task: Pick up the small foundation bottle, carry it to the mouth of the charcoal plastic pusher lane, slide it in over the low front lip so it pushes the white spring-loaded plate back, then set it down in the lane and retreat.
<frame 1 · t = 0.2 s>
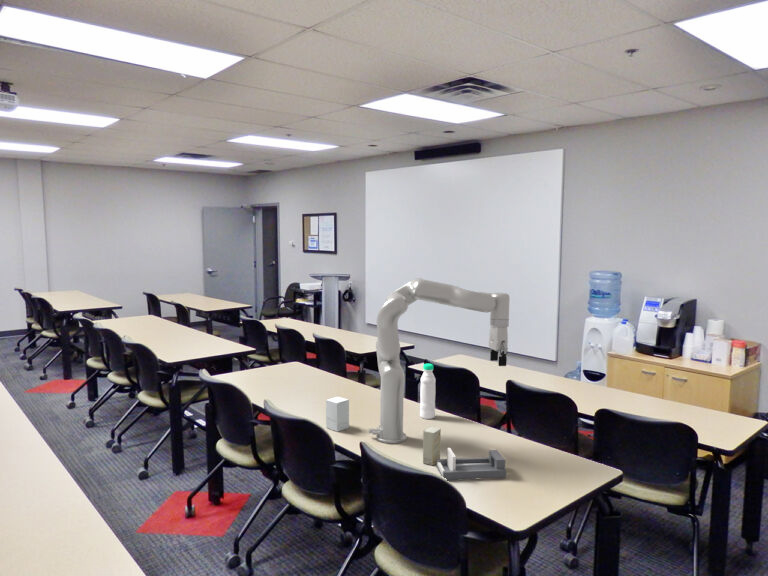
hand: (498, 363, 215), 31 cm above the table, tool pointing down, fingers open, 9 cm apart
water bottle: (427, 417, 240), on the table
skincare box: (431, 462, 190), on the table
pusher: (470, 460, 182), point 4 cm above the table, slide at 0.0 cm
supplement box: (337, 428, 224), on the table
lane: (470, 472, 182), on the table
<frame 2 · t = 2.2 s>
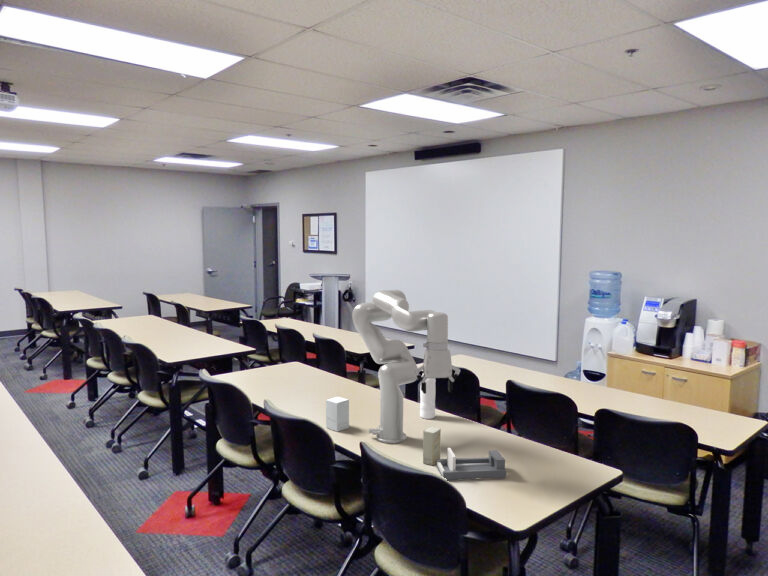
hand: (437, 392, 190), 26 cm above the table, tool pointing down, fingers open, 9 cm apart
nothing on the table moved.
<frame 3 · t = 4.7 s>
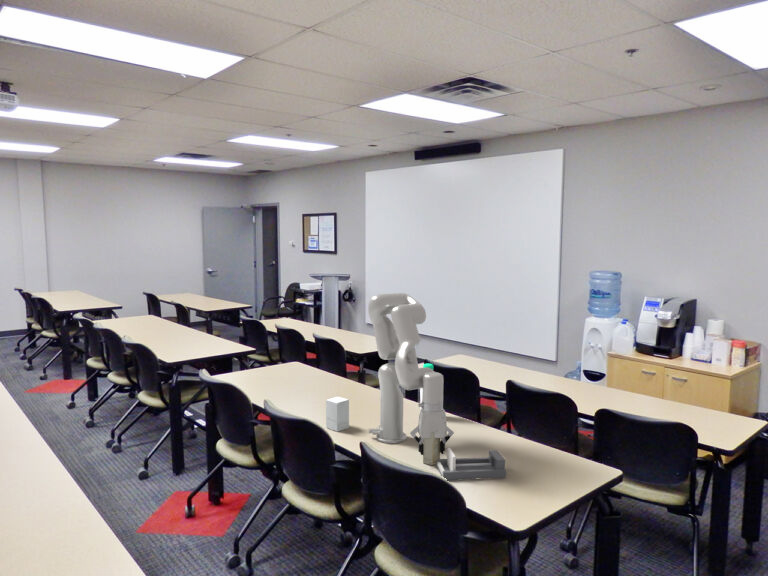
hand: (431, 452, 190), 3 cm above the table, tool pointing down, fingers closed on skincare box, 7 cm apart
skincare box: (431, 462, 190), on the table, touching gripper
everything else where it was.
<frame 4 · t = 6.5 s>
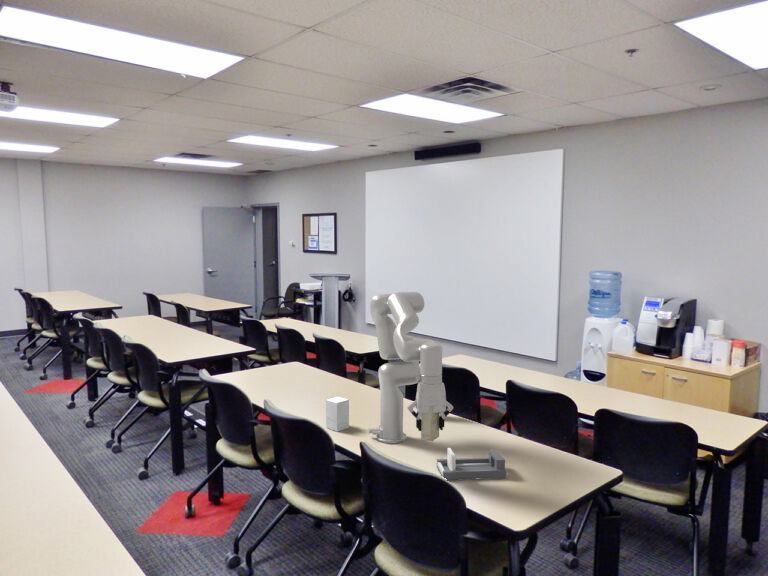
hand: (430, 429, 179), 16 cm above the table, tool pointing down, fingers closed on skincare box, 7 cm apart
skincare box: (430, 438, 179), point 13 cm above the table, touching gripper
everything else where it was.
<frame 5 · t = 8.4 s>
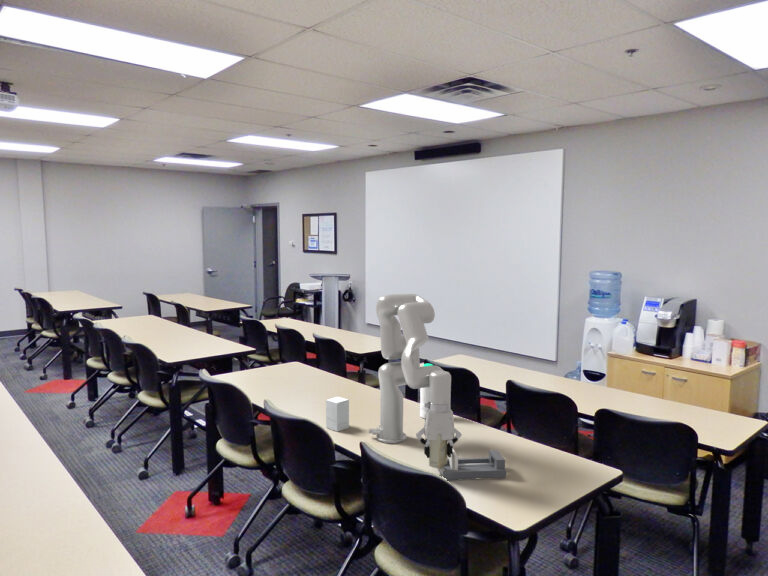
hand: (438, 455, 180), 6 cm above the table, tool pointing down, fingers closed on skincare box, 7 cm apart
skincare box: (438, 465, 180), point 3 cm above the table, touching gripper
pusher: (473, 460, 182), point 4 cm above the table, slide at 0.8 cm, touching gripper
everything else where it was.
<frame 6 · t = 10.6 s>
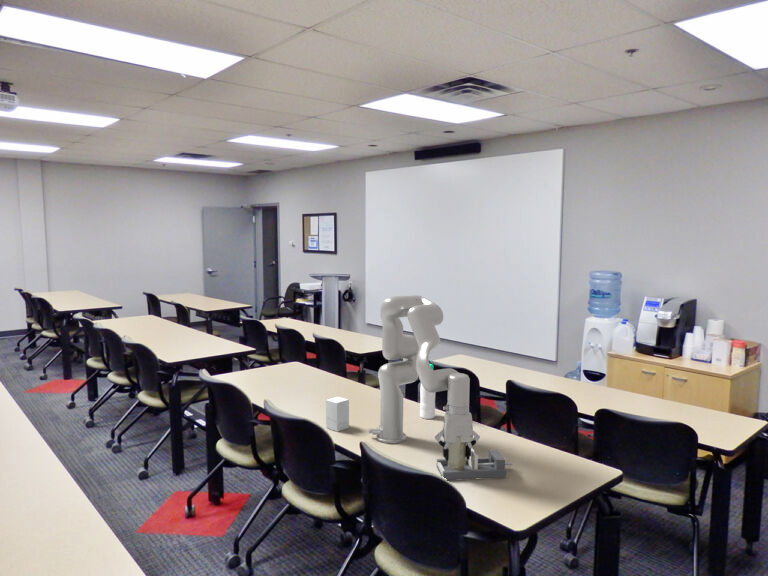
hand: (456, 458, 181), 5 cm above the table, tool pointing down, fingers closed on skincare box, 7 cm apart
skincare box: (456, 467, 181), point 2 cm above the table, touching gripper
pusher: (492, 459, 182), point 4 cm above the table, slide at 7.8 cm, touching gripper
everything else where it was.
when the fingers open (5 cm above the table, at t = 11.0 s): skincare box stays where it is, resting on lane, pusher.
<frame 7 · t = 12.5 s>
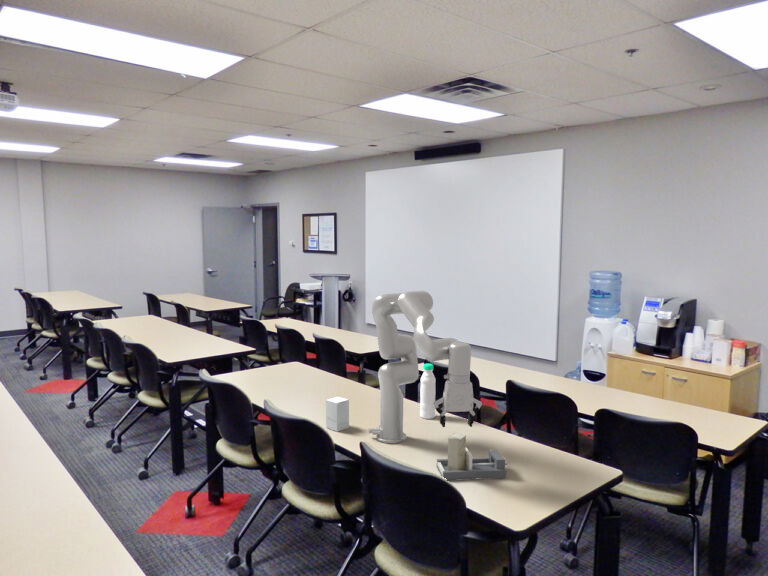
hand: (456, 425, 180), 17 cm above the table, tool pointing down, fingers open, 9 cm apart
skincare box: (456, 470, 181), point 1 cm above the table, touching lane, pusher
pusher: (486, 459, 182), point 4 cm above the table, slide at 5.9 cm, touching skincare box
everything else where it was.
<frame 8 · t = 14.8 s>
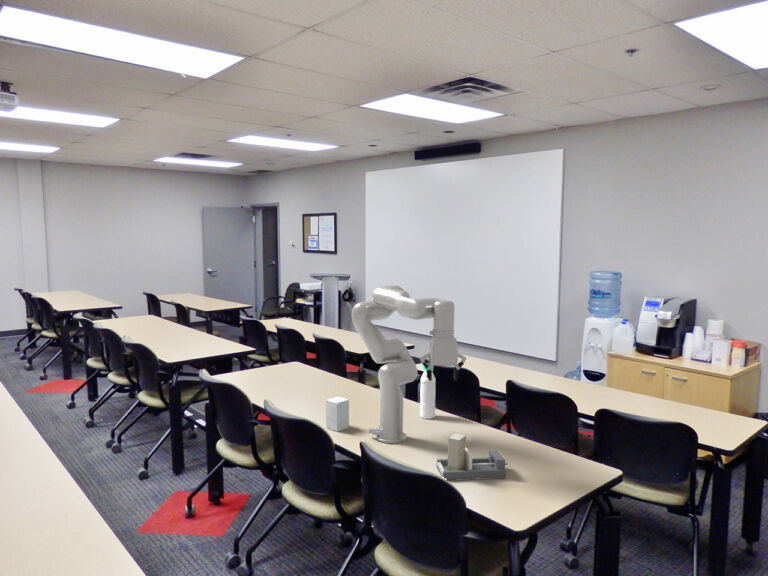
hand: (442, 379, 190), 30 cm above the table, tool pointing down, fingers open, 9 cm apart
nothing on the table moved.
at the end: skincare box inside the target area on the lane (0.7 cm from its centre), point 0.8 cm above the lane's base; skincare box tilted 0°; pusher slide at 5.8 cm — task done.
